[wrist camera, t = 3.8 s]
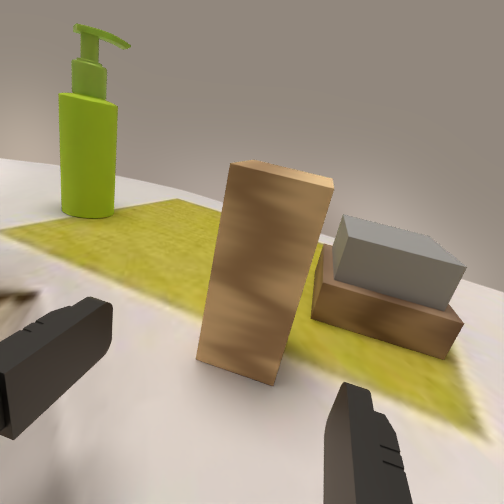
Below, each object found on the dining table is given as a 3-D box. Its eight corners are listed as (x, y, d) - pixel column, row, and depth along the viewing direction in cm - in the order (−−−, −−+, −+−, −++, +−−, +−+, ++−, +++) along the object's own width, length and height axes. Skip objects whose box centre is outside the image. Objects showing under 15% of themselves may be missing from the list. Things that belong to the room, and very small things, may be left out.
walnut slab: (407, 301, 35) (422, 270, 33) (441, 364, 24) (464, 323, 23) (314, 274, 36) (323, 243, 35) (309, 322, 26) (322, 282, 25)
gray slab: (414, 270, 32) (429, 236, 31) (444, 311, 24) (467, 267, 23) (332, 248, 34) (343, 214, 32) (333, 279, 26) (348, 236, 24)
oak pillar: (284, 337, 22) (332, 178, 18) (273, 386, 18) (334, 188, 14) (221, 317, 23) (253, 159, 19) (195, 359, 19) (230, 163, 14)
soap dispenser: (127, 218, 39) (137, 39, 32) (65, 218, 35) (60, 11, 27) (115, 204, 43) (121, 43, 36) (58, 203, 39) (52, 19, 32)
